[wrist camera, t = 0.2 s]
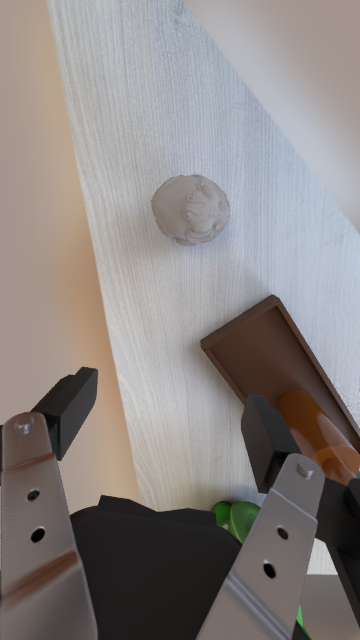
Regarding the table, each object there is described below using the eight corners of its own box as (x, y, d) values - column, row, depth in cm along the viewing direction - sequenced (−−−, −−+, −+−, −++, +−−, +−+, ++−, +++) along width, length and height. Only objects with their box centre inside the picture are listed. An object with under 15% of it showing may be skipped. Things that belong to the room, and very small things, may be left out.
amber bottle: (281, 386, 31) (336, 471, 19) (319, 392, 31) (397, 480, 19) (271, 417, 32) (315, 513, 21) (307, 423, 32) (371, 522, 21)
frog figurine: (213, 252, 26) (221, 255, 20) (151, 236, 26) (139, 234, 20) (229, 192, 25) (244, 174, 18) (163, 175, 24) (153, 150, 18)
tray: (200, 340, 30) (200, 347, 28) (272, 293, 28) (279, 297, 26) (302, 477, 36) (308, 490, 34) (368, 447, 34) (379, 460, 32)
